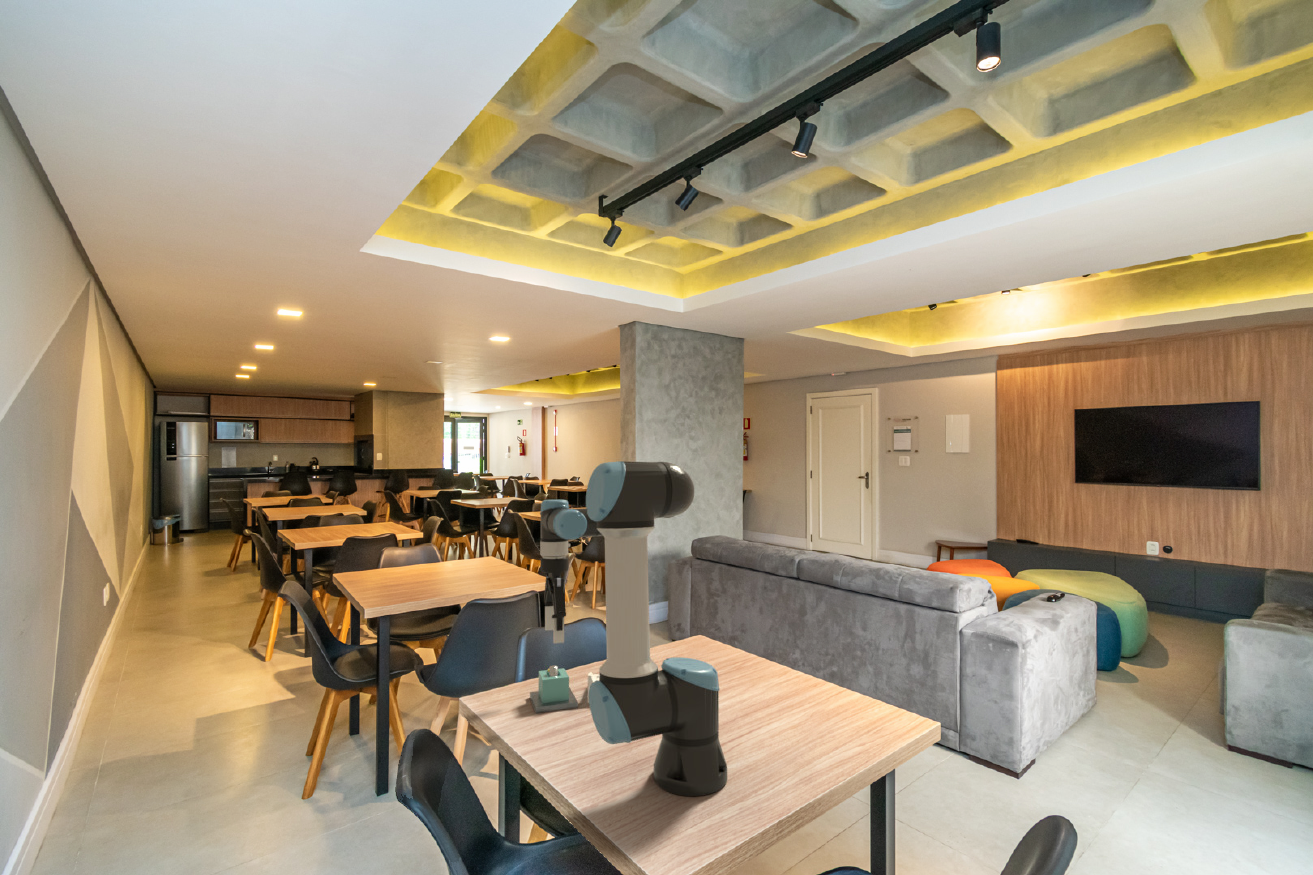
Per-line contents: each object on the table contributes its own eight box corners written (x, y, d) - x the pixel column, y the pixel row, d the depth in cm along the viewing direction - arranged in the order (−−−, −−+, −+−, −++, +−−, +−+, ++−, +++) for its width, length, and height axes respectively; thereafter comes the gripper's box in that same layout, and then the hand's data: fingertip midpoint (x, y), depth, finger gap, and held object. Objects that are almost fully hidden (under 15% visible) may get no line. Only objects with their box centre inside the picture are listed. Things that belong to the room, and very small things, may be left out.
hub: (542, 703, 159) (542, 677, 159) (538, 693, 166) (538, 668, 166) (568, 699, 161) (569, 674, 161) (563, 690, 168) (564, 666, 168)
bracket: (613, 704, 163) (614, 675, 163) (587, 704, 163) (587, 675, 163) (618, 686, 176) (618, 660, 176) (593, 686, 176) (593, 659, 176)
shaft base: (577, 707, 160) (577, 670, 160) (535, 713, 156) (535, 675, 157) (569, 692, 170) (569, 658, 171) (529, 697, 167) (530, 662, 167)
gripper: (577, 562, 154) (577, 647, 153) (560, 550, 178) (559, 623, 177) (548, 563, 152) (547, 650, 151) (534, 551, 175) (533, 626, 174)
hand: (554, 636), depth 164 cm, fingers open, 13 cm apart
